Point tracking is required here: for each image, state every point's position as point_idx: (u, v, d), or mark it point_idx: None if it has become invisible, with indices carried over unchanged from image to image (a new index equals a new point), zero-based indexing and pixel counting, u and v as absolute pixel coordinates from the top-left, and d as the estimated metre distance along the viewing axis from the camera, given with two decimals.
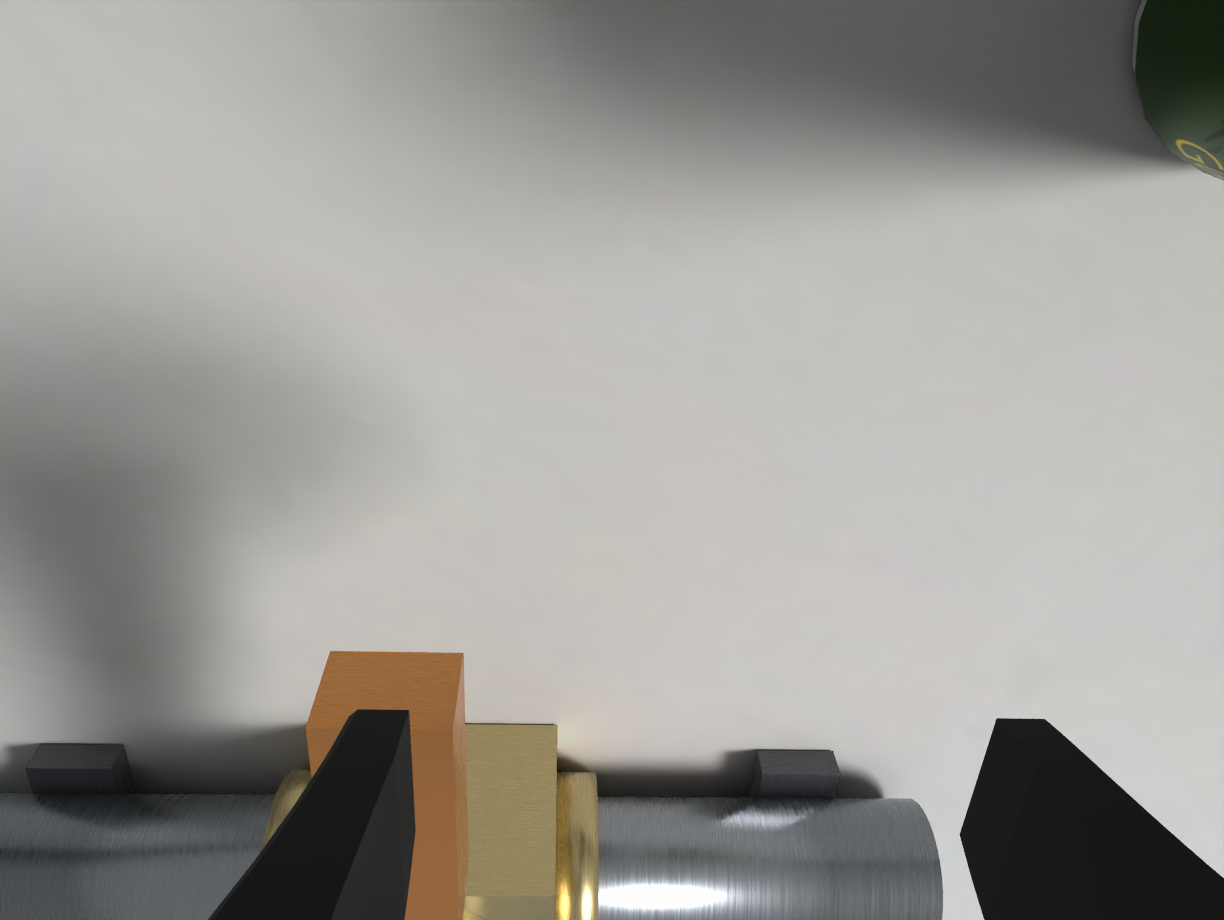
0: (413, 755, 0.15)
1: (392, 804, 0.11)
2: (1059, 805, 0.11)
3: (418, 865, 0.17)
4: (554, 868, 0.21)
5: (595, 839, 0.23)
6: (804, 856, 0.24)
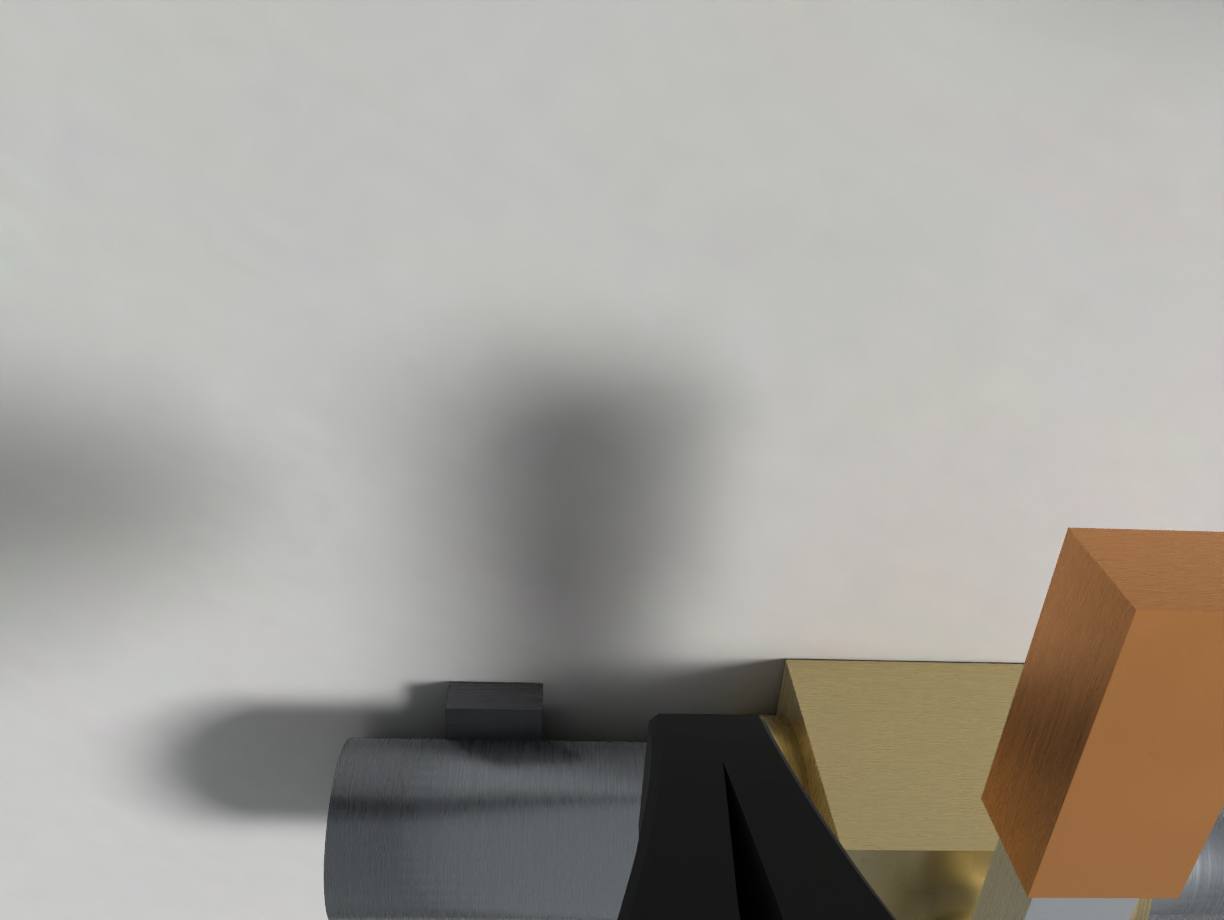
0: None
1: None
2: (733, 802, 0.10)
3: (1179, 797, 0.13)
4: None
5: None
6: None
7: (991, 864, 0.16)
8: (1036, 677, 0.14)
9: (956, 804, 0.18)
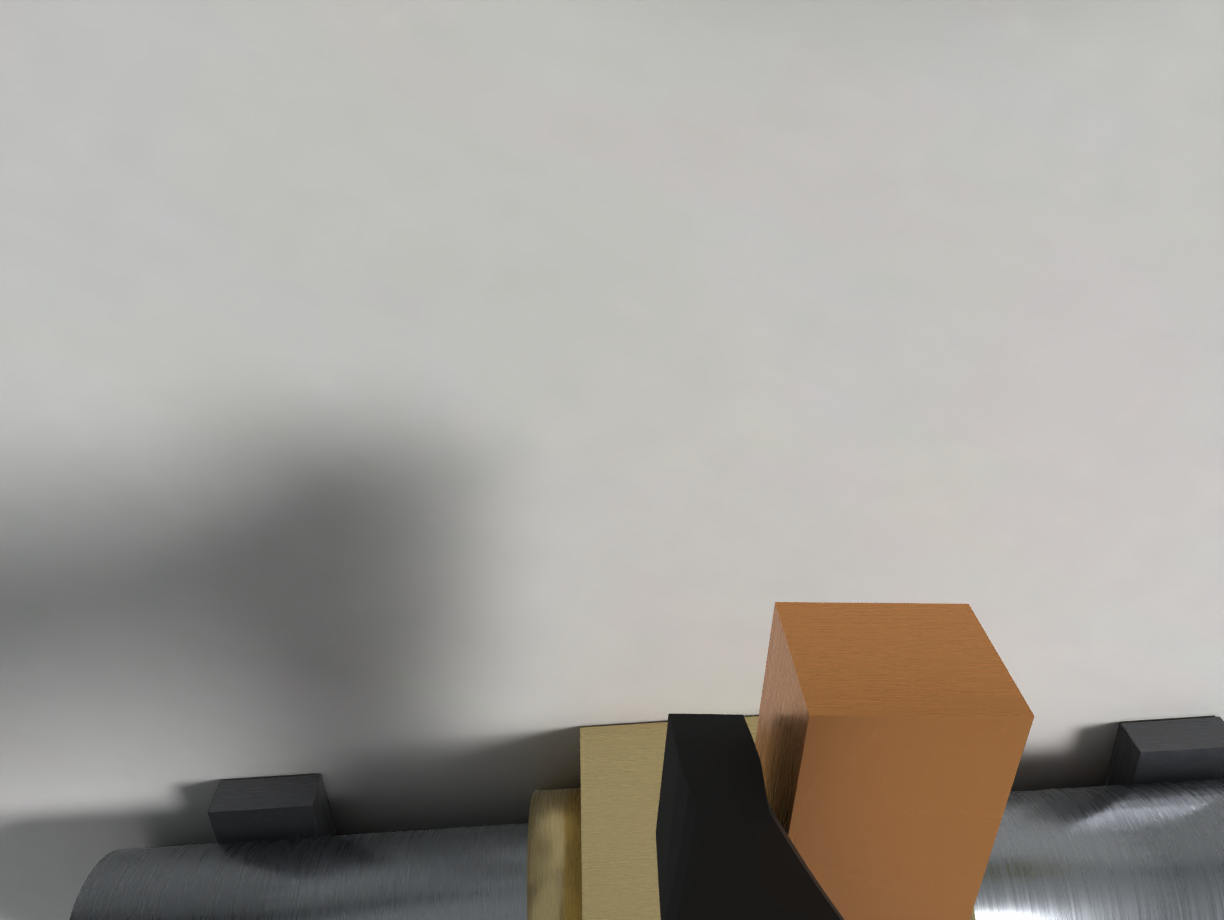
0: (961, 756, 0.10)
1: None
2: (688, 802, 0.10)
3: None
4: None
5: None
6: None
7: None
8: None
9: None
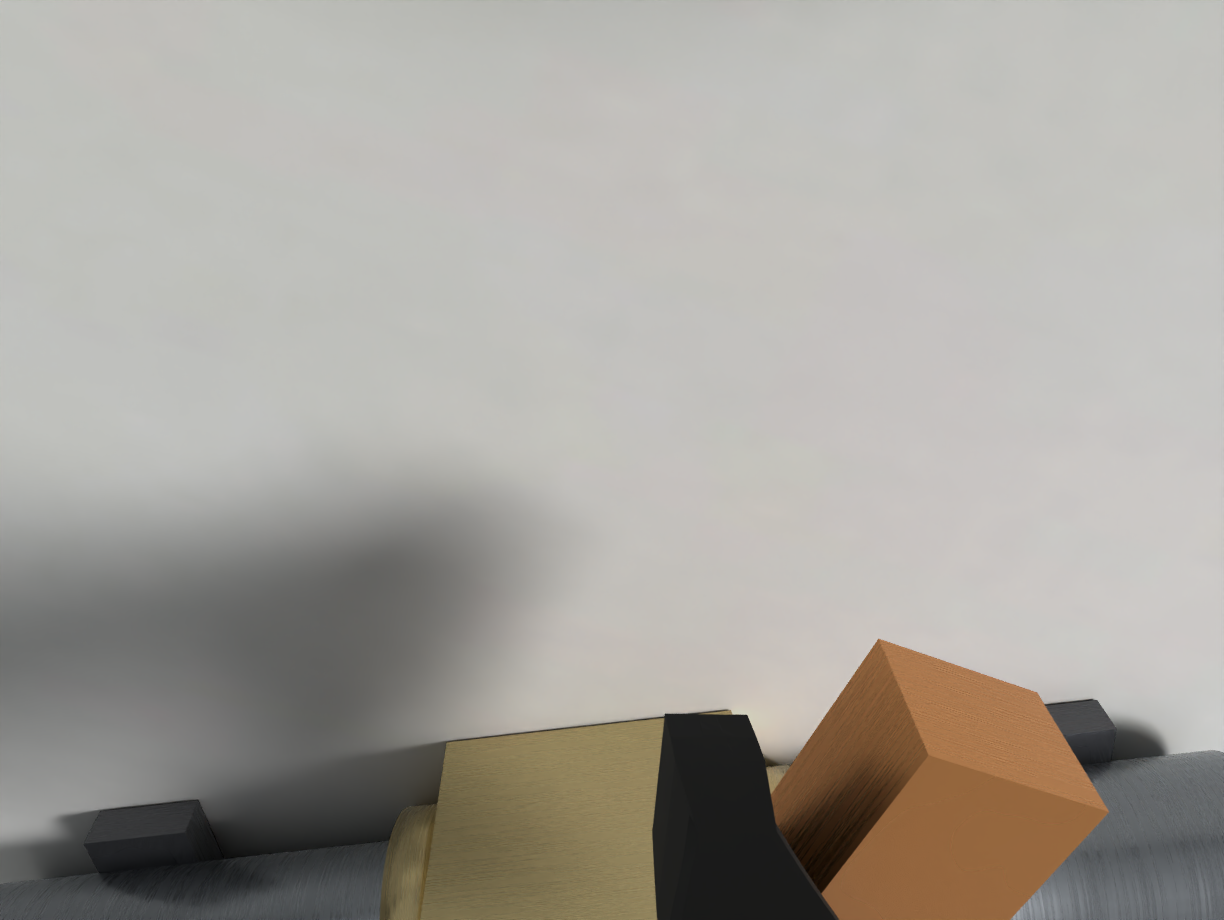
0: (1030, 830, 0.10)
1: None
2: (683, 802, 0.10)
3: None
4: None
5: None
6: (1095, 845, 0.17)
7: None
8: (793, 795, 0.12)
9: (565, 906, 0.16)
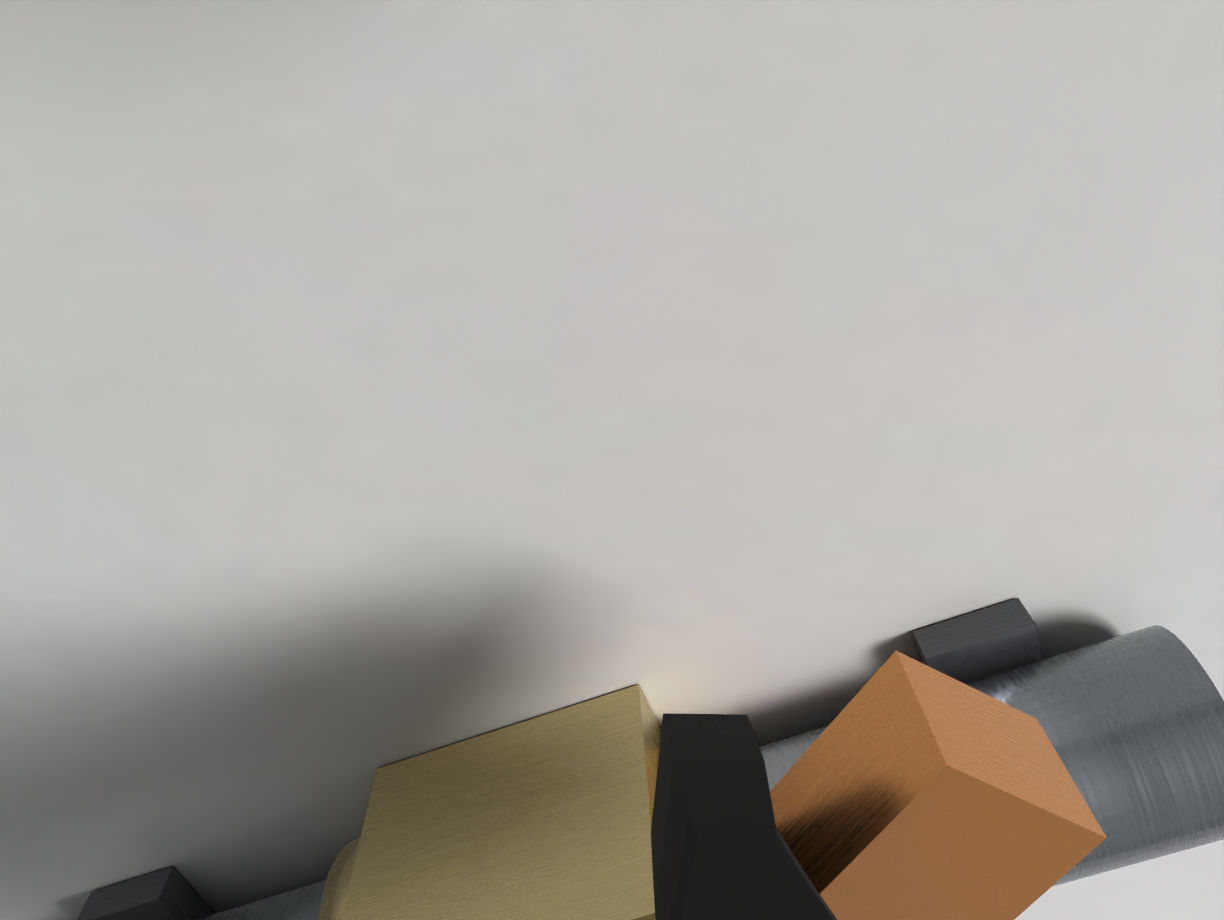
0: (1030, 849, 0.11)
1: None
2: (681, 802, 0.10)
3: None
4: None
5: None
6: None
7: None
8: (792, 796, 0.12)
9: (464, 910, 0.16)
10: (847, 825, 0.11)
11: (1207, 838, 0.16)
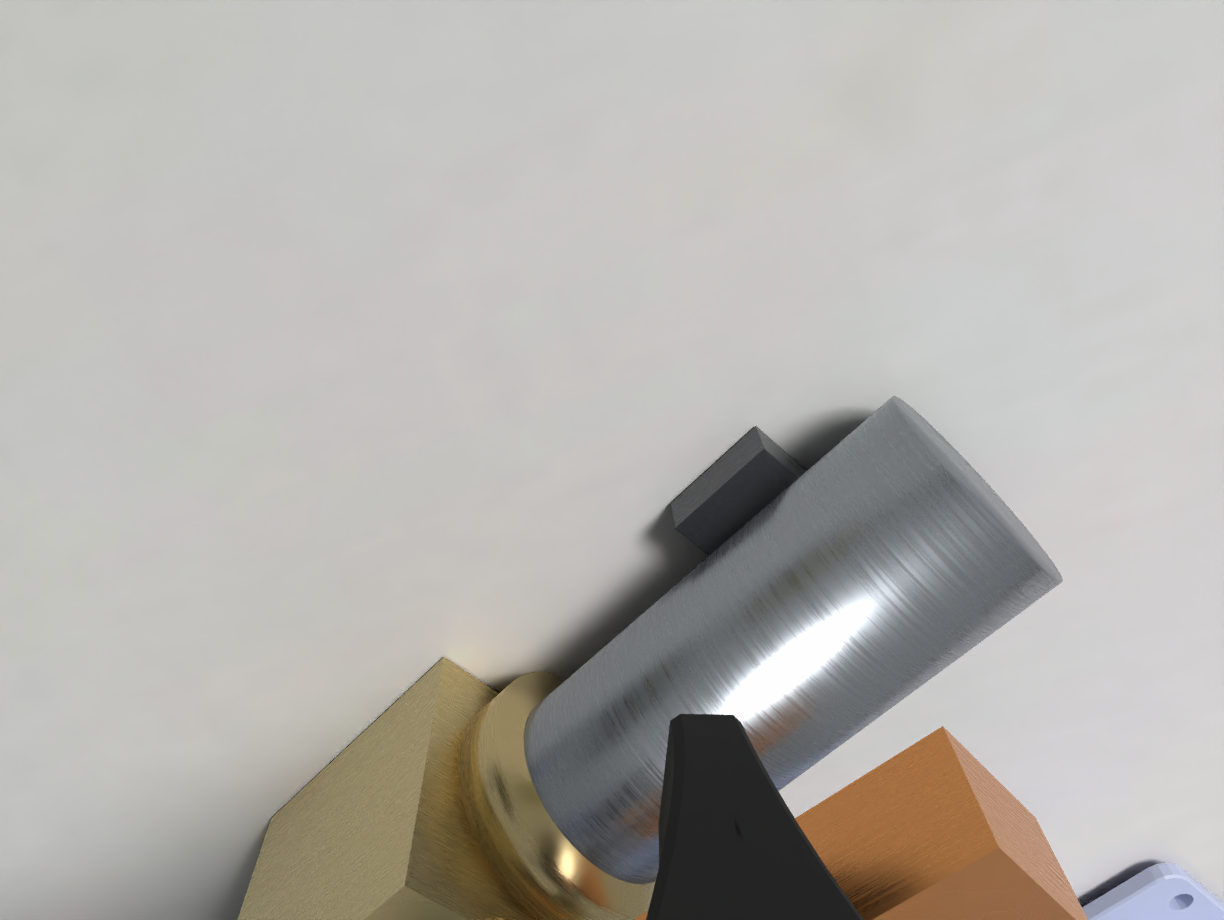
0: None
1: None
2: (705, 802, 0.10)
3: None
4: (409, 847, 0.15)
5: (497, 764, 0.16)
6: (751, 594, 0.15)
7: None
8: None
9: None
10: (872, 881, 0.11)
11: (995, 609, 0.14)
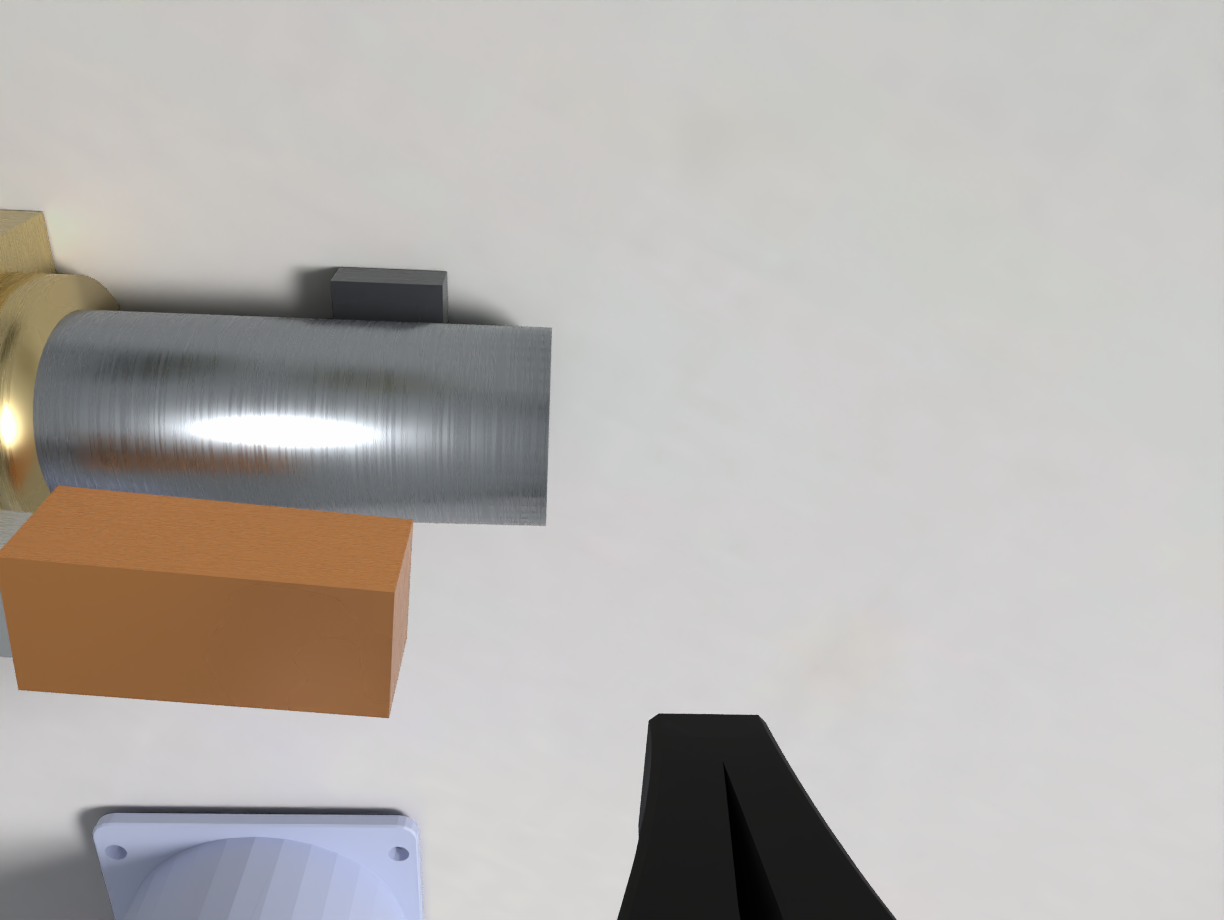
0: (351, 682, 0.14)
1: None
2: (733, 802, 0.10)
3: (164, 664, 0.14)
4: None
5: (29, 309, 0.16)
6: (352, 356, 0.16)
7: None
8: (251, 518, 0.14)
9: None
10: (285, 563, 0.13)
11: (496, 500, 0.17)
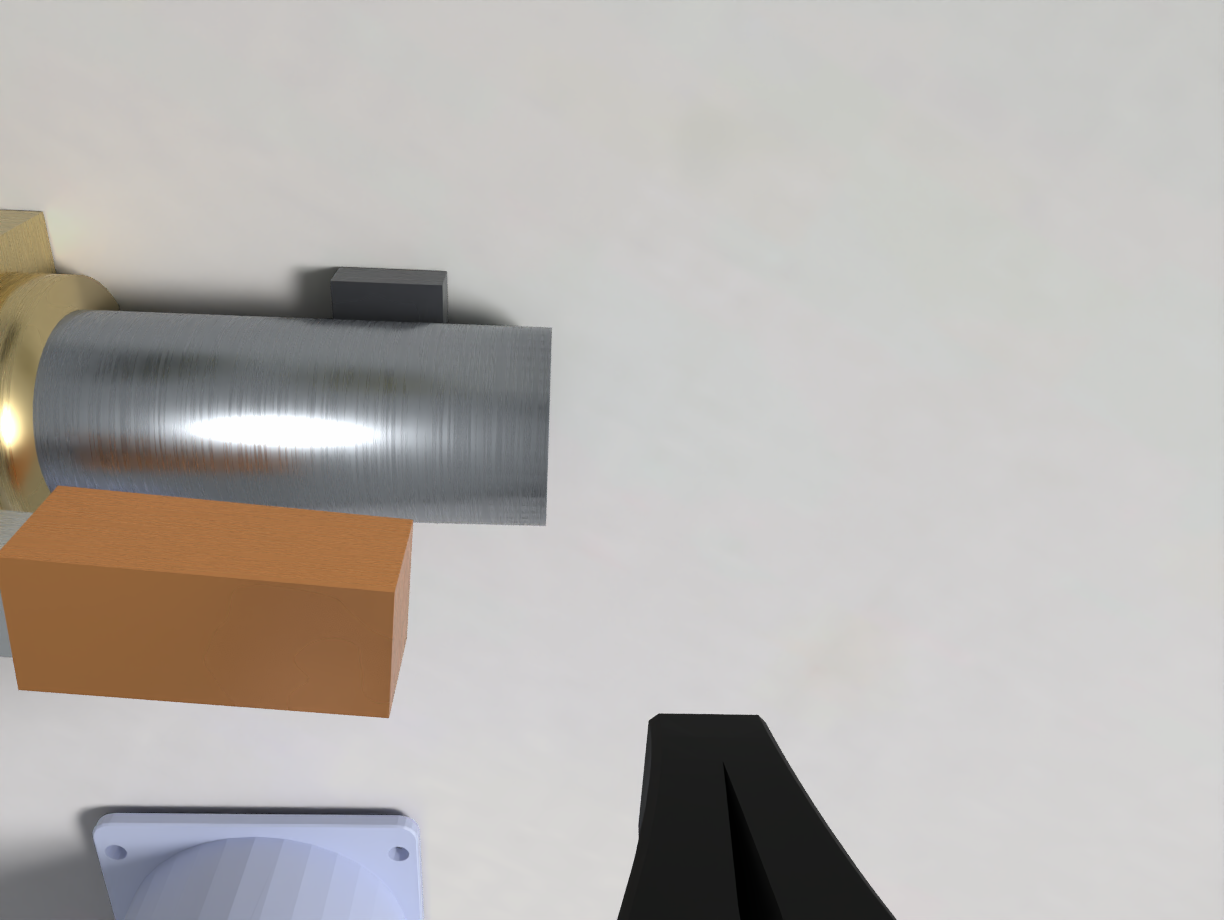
0: (351, 682, 0.14)
1: None
2: (733, 802, 0.10)
3: (164, 664, 0.14)
4: None
5: (29, 309, 0.16)
6: (352, 356, 0.16)
7: None
8: (251, 518, 0.14)
9: None
10: (285, 563, 0.13)
11: (496, 500, 0.17)
